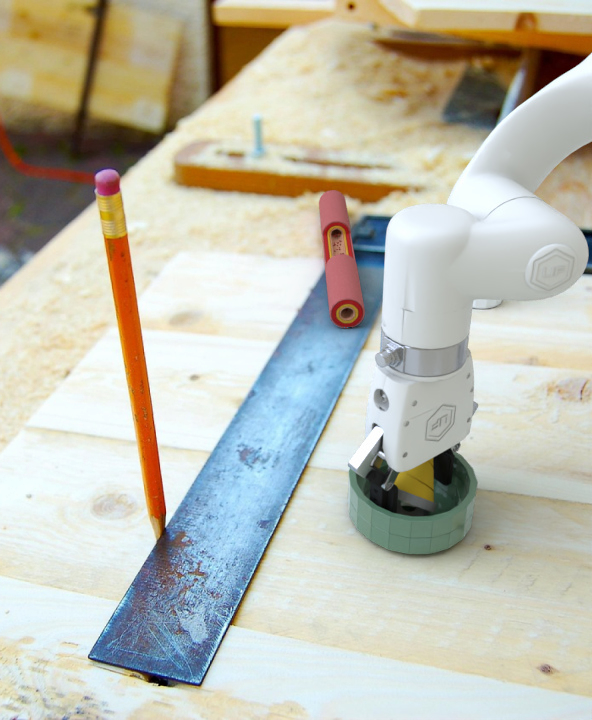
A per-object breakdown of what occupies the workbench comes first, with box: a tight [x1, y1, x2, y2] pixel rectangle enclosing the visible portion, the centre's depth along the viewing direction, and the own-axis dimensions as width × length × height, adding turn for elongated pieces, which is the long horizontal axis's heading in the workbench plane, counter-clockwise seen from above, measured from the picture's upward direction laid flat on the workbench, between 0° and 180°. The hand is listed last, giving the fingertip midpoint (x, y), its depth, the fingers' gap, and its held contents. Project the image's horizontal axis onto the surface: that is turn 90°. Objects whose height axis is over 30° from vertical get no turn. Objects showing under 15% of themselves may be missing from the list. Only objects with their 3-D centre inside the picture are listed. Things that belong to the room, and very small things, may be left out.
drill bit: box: [394, 458, 437, 517], centre depth 77 cm, size 5×5×10 cm
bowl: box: [347, 451, 478, 555], centre depth 78 cm, size 12×12×5 cm
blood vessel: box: [318, 189, 366, 329], centre depth 126 cm, size 42×5×5 cm, turn 177°
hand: (410, 492), depth 77 cm, fingers open, 6 cm apart
